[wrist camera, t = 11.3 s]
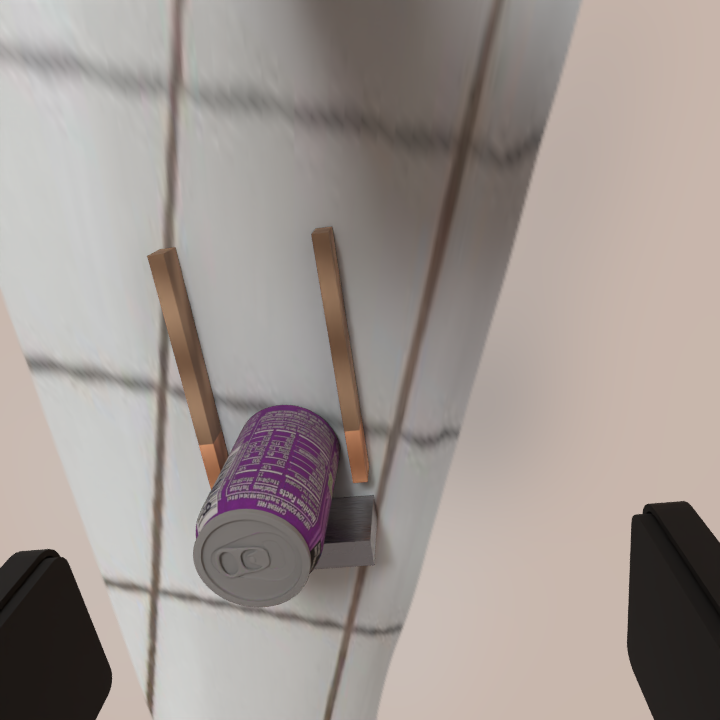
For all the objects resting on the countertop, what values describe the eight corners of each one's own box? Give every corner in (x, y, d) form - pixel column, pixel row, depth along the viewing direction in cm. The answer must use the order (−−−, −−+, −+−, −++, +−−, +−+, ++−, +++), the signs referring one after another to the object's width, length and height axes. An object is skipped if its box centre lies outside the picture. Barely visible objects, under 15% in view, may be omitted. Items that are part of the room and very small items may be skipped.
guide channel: (160, 249, 37) (125, 267, 32) (331, 226, 35) (321, 241, 31) (233, 528, 44) (214, 575, 40) (376, 518, 43) (374, 564, 39)
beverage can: (255, 492, 43) (205, 620, 32) (230, 407, 41) (166, 513, 29) (349, 480, 42) (331, 607, 31) (329, 392, 40) (302, 497, 29)
